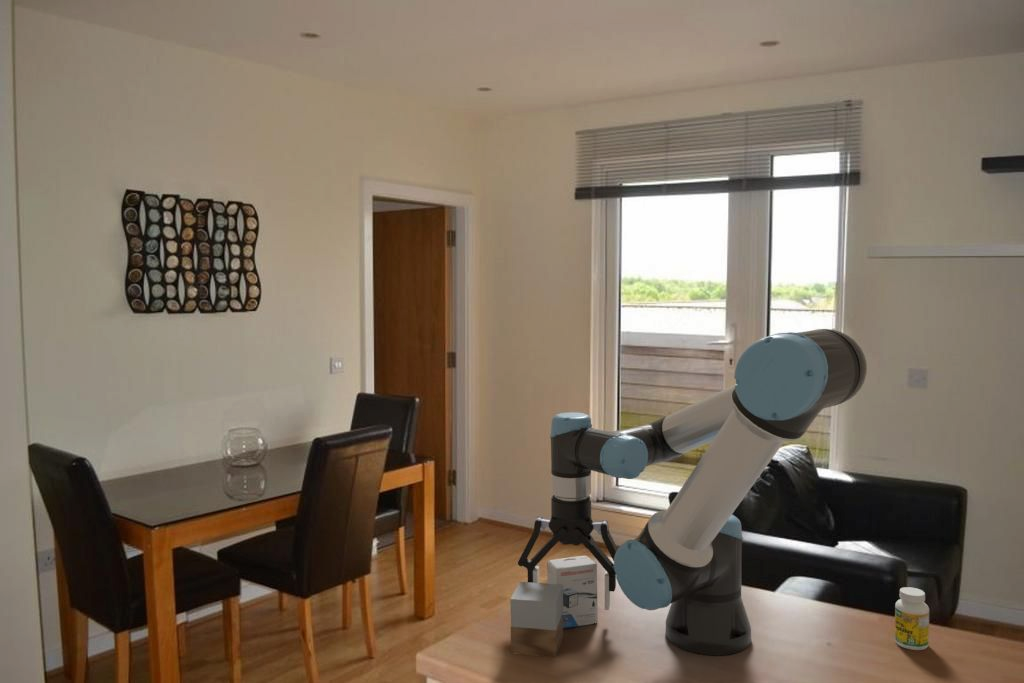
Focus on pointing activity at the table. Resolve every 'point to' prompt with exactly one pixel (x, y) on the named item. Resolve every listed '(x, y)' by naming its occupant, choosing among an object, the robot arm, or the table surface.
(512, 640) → the walnut block
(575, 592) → the ink box
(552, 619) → the grey block
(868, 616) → the table surface
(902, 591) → the supplement bottle
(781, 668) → the table surface
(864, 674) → the table surface
